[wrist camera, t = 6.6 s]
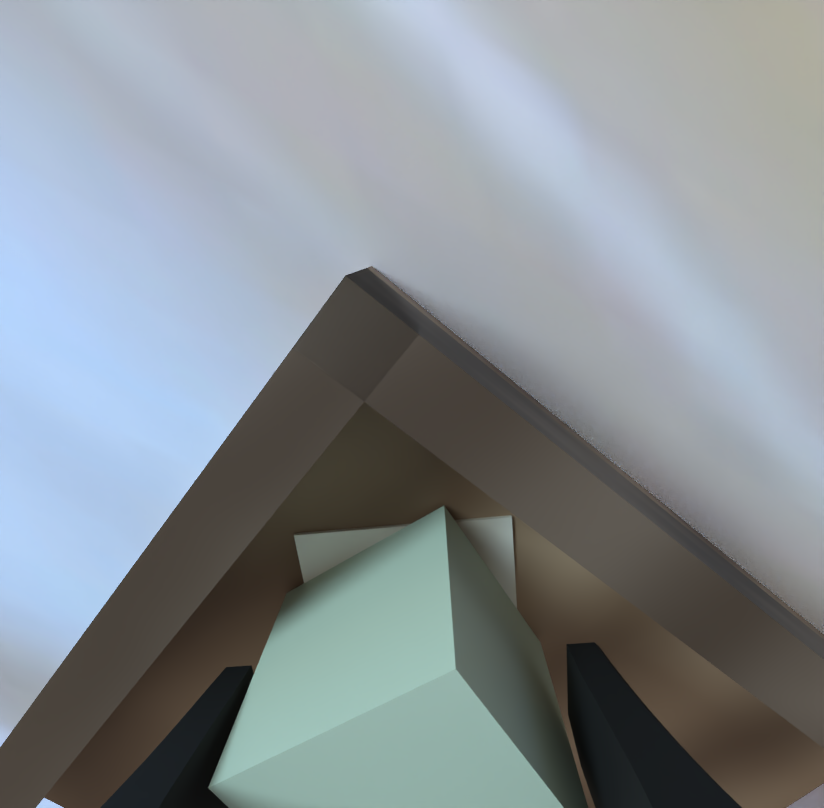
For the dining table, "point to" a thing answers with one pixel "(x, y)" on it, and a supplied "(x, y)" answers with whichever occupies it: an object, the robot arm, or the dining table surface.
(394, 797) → the sage cube
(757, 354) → the dining table surface
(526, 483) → the arena
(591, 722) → the robot arm
